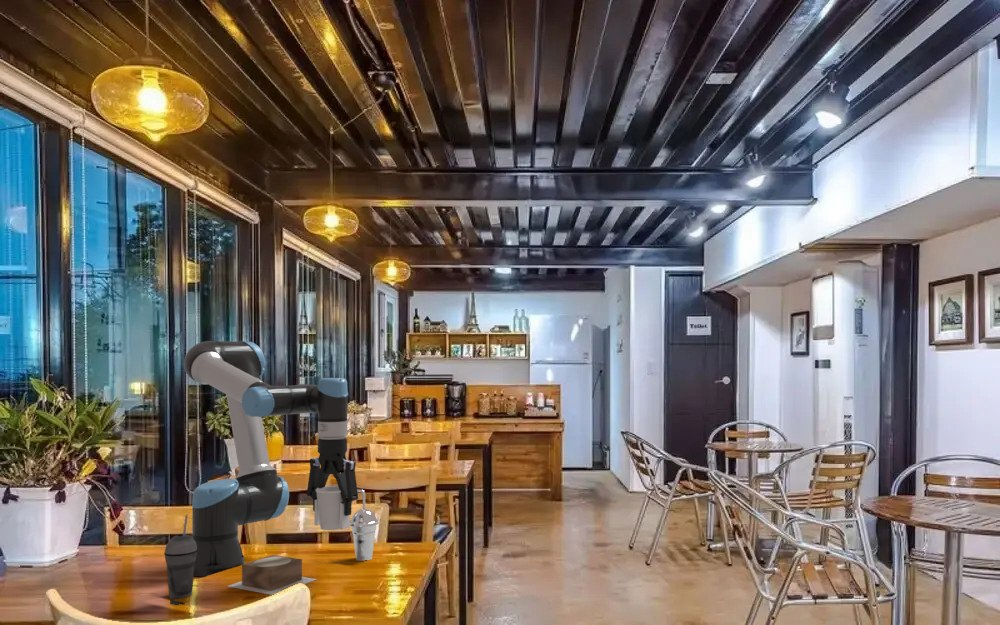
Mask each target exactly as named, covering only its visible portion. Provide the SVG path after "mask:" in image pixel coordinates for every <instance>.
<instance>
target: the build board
mask: <svg viewBox="0 0 1000 625" xmlns="http://www.w3.org/2000/svg"><path fill="white" fill-rule="evenodd" d="M316 580H317V579H316V578H311V577H305V576H302V580H300V581H297V582H295V583H292V584H289V585H286V586H284V587H281V588H278V589H275V590H273V591H269V590H264V589H258V588H253V587H248V586H242V580H241V581H238V582H235V583H232V584H229V585H227V587H229V588H235V589H239V590H245V591H250V592H254V593H255V592H256V593H261V594H266V595H271V596H274V595H273V594H275V593H277V592H279V591H282V590H284V589H286V588H288V587H290V586H293V585H295V584H298V583H303V585H306V584H308V583H311V582H314V581H316Z"/></svg>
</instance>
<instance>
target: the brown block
mask: <svg viewBox="0 0 1000 625" xmlns="http://www.w3.org/2000/svg"><path fill="white" fill-rule="evenodd" d="M241 573H242V574H241V579H242V580H241V581H242V586H248V587H253V588H258V589H264V590H269V591H273V590H275V589H278V588H281V587H284V586H286V585H289V584H292V583H295V582H297V581H300V580H302V577H303V559H302V558H296V557H290V556H282V555H275V554H272V555H269V556H265V557H262V558H259V559H256V560H252V561H249V562H245V563H244V564H242V565H241Z"/></svg>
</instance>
